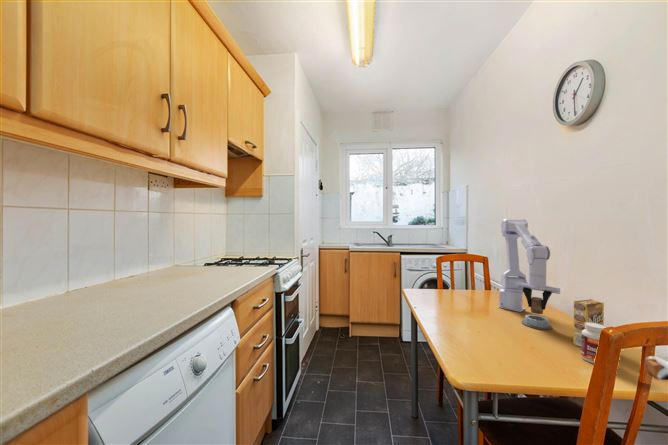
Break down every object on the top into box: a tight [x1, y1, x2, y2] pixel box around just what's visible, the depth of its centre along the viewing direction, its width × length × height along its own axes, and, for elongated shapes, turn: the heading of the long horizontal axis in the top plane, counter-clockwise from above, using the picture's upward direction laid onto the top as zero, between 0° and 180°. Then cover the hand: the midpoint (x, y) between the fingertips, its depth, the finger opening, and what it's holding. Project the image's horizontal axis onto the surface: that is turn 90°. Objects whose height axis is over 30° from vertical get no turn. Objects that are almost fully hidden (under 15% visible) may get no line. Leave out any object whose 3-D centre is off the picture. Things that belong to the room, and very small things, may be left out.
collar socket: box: [521, 314, 553, 331], centre depth 111 cm, size 10×10×3 cm
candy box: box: [573, 298, 605, 348], centre depth 94 cm, size 9×4×15 cm, turn 107°
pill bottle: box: [580, 322, 607, 364], centre depth 83 cm, size 6×6×11 cm
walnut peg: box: [530, 296, 544, 315], centre depth 111 cm, size 4×4×6 cm
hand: (536, 307), depth 111 cm, fingers closed on walnut peg, 4 cm apart
